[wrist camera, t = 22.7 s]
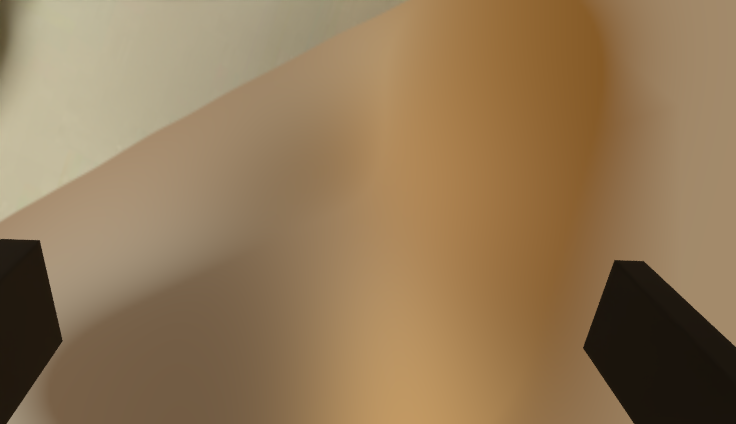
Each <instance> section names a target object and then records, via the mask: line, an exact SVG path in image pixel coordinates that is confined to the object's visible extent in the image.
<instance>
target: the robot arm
mask: <svg viewBox="0 0 736 424" xmlns="http://www.w3.org/2000/svg"><path fill="white" fill-rule="evenodd" d="M61 342H62V337H61V332H60V328H59V323H58V319H57V315H56V310H55V306H54V301H53V297H52V292H51V288H50V284H49V279H48V275H47V270H46V267H45V262H44V257H43V253H42V249H41V244H40V240H14V239H13V240H12V239H1V240H0V424H7V422H8V421H9V419H10V418H11V416H12V415H13V413H14V412H15V411H16V409H17V407H18V406H19V405H20V403H21V402H22V400H23V399H24V397H25V396H26V394H27V392H28V391H29V390H30V388H31V387H32V385H33V384H34V382H35V381H36V379H37V378H38V377H39V375H40V374H41V372H42V371H43V369H44V367H45V366H46V365H47V363H48V362H49V360H50V359H51V357H52V356H53V354H54V353H55V351H56V350H57V349H58V347H59V345H60V344H61ZM583 348H584V350H585V351H586V353H587V354H588V356H589V357H590V359H591V360H592V362H593V363H594V365H595V366H596V368H597V369H598V371H599V372H600V374H601V375H602V377H603V378H604V380H605V381H606V383H607V384H608V385H609V387H610V388H611V390H612V391H613V393H614V394H615V396H616V397H617V399H618V400H619V402H620V403H621V405H622V406H623V408H624V409H625V411H626V412H627V414H628V415H629V417H630V418H631V420H632V421H633V423H634V424H736V347H735V346H734V345H733V344H732V343H731V342H730V341H729V340H727V339H726V338H725V337H724V336H723V335H722V334H721V333H720V332H719V331H718V330H717V329H716V328H715V327H714V326H712V325H711V324H710V323H709V322H708V321H707V320H706V319H705V318H704V317H703V316H702V315H701V314H700V313H699V312H697V311H696V310H695V309H694V308H693V307H692V306H691V305H690V304H689V303H688V302H687V301H686V300H685V299H684V298H682V297H681V296H680V295H679V294H678V293H677V292H676V291H675V290H674V289H673V288H672V287H671V286H670V285H669V284H667V283H666V282H665V281H664V280H663V279H662V278H661V277H660V276H659V275H658V274H657V273H656V272H655V271H654V270H652V269H651V268H650V267H649V266H648V265H647V264H646V263H645V262H644V261H620V260H615V261H614V263H613V266H612V269H611V272H610V274H609V277H608V280H607V283H606V286H605V289H604V291H603V294H602V297H601V299H600V302H599V305H598V308H597V311H596V314H595V316H594V319H593V322H592V325H591V327H590V330H589V333H588V336H587V338H586V341H585V344H584V347H583Z"/></svg>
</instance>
